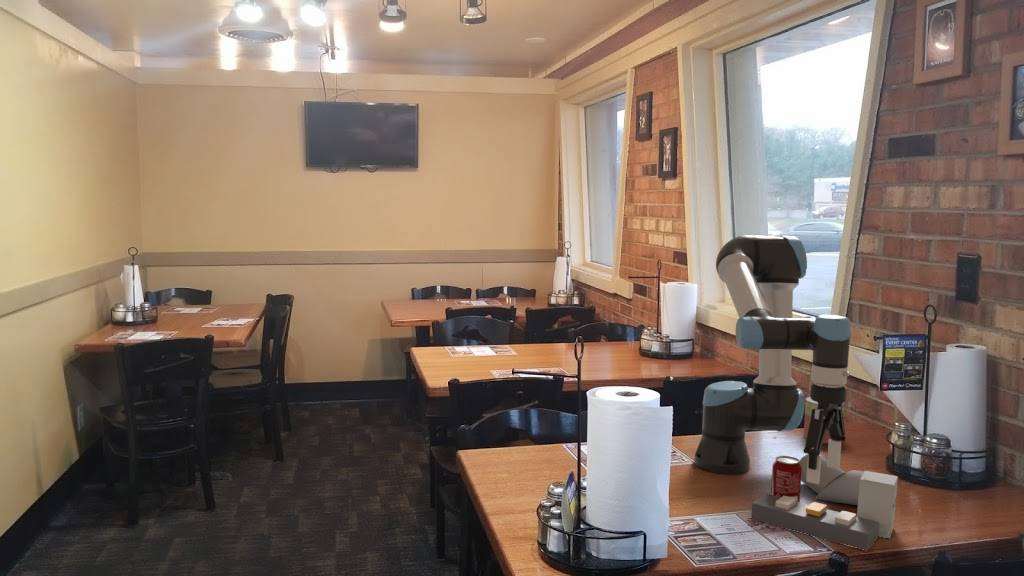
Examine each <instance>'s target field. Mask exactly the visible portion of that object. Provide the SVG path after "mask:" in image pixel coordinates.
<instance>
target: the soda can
mask: <svg viewBox="0 0 1024 576" xmlns="http://www.w3.org/2000/svg"><path fill="white" fill-rule="evenodd" d="M799 461H800V459H799V458H797V457H795V456H791V455H778V456H776V457H775V461H774V462H772V470H771V487H770V488H771V489H770V490H771V491H770V495H774V496H778V497H783V496H788V497H792V498H795V499H796V501H797V502H801V489H802V487H801V486H802V481H801V474H802V467H801V465H800V464H799Z"/></svg>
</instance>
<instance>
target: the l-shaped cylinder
mask: <svg viewBox="0 0 1024 576" xmlns="http://www.w3.org/2000/svg"><path fill="white" fill-rule="evenodd" d="M807 459H808V454H807V453H806V455H804V456H802V458H801V459H799V464H800V465H801V467H802V474H801V483H802V482H803V484H805V485H806V486H807V487H809V488H810V489H812V490H813V491H814V492H815V493H817V495H816V496H815V500H818V501H825V502H831V503H832V502H833V503H838V504H844V505H845V504H846V505H851V506H852V505H853V506H857V507H858V496H859V483H860V478H861V477H862V475H863V473H864V471H862V470H855V469H852V470H849V471H847V472H846V471H845V470H843V469H842V468H840V469H835V468H830V467H827V459H826V458H824V457H823V456H822V455H821V468H820V483H819V484H815V483H811V482H806V476H807Z"/></svg>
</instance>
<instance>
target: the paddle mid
mask: <svg viewBox="0 0 1024 576" xmlns="http://www.w3.org/2000/svg"><path fill="white" fill-rule="evenodd" d="M827 509H828V506H827V504H824V503H820V502H816V501H813V502H812V503H810V504H809V506H808V507H807V508H806V513H807V514H810V515H814V516H818V517H819V516H820V515H822V514H823V513H824V512H825V511H826V510H827Z"/></svg>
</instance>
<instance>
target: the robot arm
mask: <svg viewBox="0 0 1024 576" xmlns="http://www.w3.org/2000/svg"><path fill="white" fill-rule="evenodd" d="M806 252H807V251H806V248H805V246H804V244H803V242H802V240H800V239H799V238H798V237H796V236H789V235H752V234H751V235H750V234H749V235H746V234H745V235H740V236H737V237H734V238H731V239H730V240H729V241H727V242H726V243H725V244H724V245H723V246H722V247H721V248H720V250H719V252H718V253H717V256H716V260H715V268H716V269H715V270H716V272H717V275H718V277H719V279H720V281H722V282H723V283H724V284H725V285H726V288H727V290H728V292H729V295H730V298H731V300H732V302H733V303H732V304H733V307H734V308H735V310H736V313H737V315H738V319H737V321H736V322H735V324H736V325H735V341H736V344H737V346H739V347H740V348H741V349H752V350H759V352H758V353H759V356H758V360H759V362H758V376H757V377H755V378H754V379H753V382H752V387H749V386H748V384H747V383H745V382H743V381H735V380H724V381H718V382H713V383H711V384H709V385H707V387H705V389H704V393H703V399H702V406H703V407H702V425H701V426H702V427H701V438H700V440H699V443H698V445H697V448H696V450H695V453H694V461H693V462H694V464H695V465H696V467H698V468H700V469H701V470H705V471H708V472H712V473H717V474H725V475H726V474H727V475H731V474H741V473H742V474H743V473H746V472H747V471H749V470H750V468H751V458H750V455H749V451H748V447H747V445H746V440H745V439H746V431H775V432H776V431H777V432H785V431H786V432H787V431H788V432H789V431H795V430H796V429H797V428H798V427H799V426H800V424H801V422H802V420H803V417H804V414H805V405H806V401H805V395H804V393H803V391H802V389H800V388H798V383H797V381H796V380H795V379H794V378H793V377H792V358H793V357H792V353H793V352H792V351H794V350H795V351H796V350H797V351H801V350H802V351H812V364H811V377H810V378H811V379H810V380H811V381H812V383H811V384H810V396H809V397H811V399H812V400H813V401H816V402H817V403H818V407H817V409H812V411H811V412H812V413H811V421H810V426H809V430H808V435H807V439H806V438H805V446H804V448H803V453H804V454H806V455H807V454H808V459H807V476H806V482H811V483H815V484H819V483H820V468H821V456H822V454H821V450H822V447H823V444H824V443H823V441H824V437H825V434H826V431H827V430H828V431H829V435H830V438H831V439H832V440H831V439H829V440H828V443H827V457H826V458H827V459H826V460H827V467H830V468H835V469H841V467H840V465H841V452H842V442H846V439H847V438H846V428H845V422H844V410H843V411H842V404H843V403H844V404H845V403H846V400H847V387H846V384H848V383H847V382H848V377H849V376H850V372H849V371H848V368H849V352H850V341H851V336H852V335H851V334H852V333H851V321H850V319H849V318H848V316H843V315H842V316H841V315H837V314H836V315H835V314H820V315H817V316H811V315H809V316H804V317H800V318H799V317H793V308H794V307H793V305H794V303H793V301H794V300H793V298H794V297H793V295H794V290H795V288H797V287H798V286H799V284H800V283H799V281H800V280H801V279H803V278H804V277H805V276H806V274H807V269H808V259H807V258H808V257H807V253H806ZM840 440H841V441H840Z"/></svg>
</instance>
